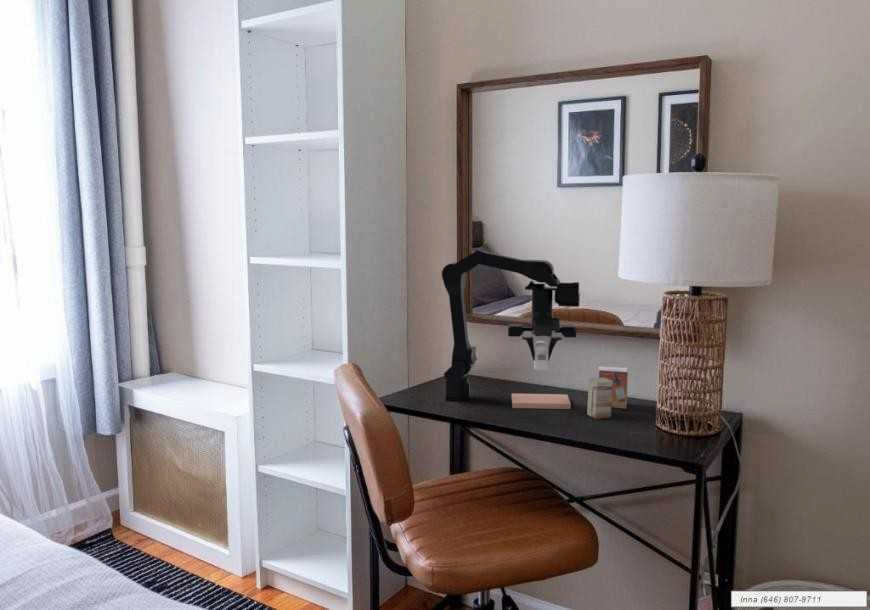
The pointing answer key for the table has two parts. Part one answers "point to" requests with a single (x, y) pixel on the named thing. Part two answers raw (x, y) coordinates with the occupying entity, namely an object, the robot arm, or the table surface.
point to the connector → (541, 356)
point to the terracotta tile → (541, 401)
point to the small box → (616, 384)
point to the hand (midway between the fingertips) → (540, 360)
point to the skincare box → (599, 397)
